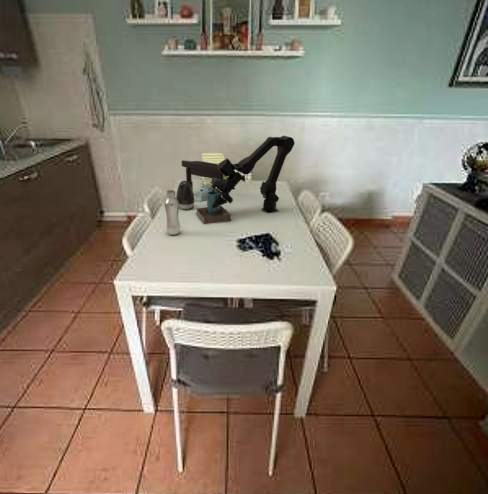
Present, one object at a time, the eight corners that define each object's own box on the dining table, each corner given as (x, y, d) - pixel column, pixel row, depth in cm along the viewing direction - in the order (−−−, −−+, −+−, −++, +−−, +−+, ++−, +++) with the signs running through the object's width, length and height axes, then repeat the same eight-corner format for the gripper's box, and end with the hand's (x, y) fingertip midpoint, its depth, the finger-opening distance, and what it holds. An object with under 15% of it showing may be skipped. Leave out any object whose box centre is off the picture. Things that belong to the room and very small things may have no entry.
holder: (221, 211, 177) (221, 205, 176) (231, 220, 165) (231, 214, 164) (196, 214, 173) (195, 208, 171) (203, 224, 161) (203, 218, 159)
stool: (220, 169, 172) (172, 161, 188) (220, 207, 182) (174, 196, 198) (235, 164, 184) (189, 156, 199) (234, 199, 194) (190, 190, 209)
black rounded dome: (172, 209, 178) (170, 182, 171) (182, 203, 187) (180, 177, 179) (189, 212, 175) (188, 184, 168) (198, 206, 183) (197, 179, 176)
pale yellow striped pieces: (229, 190, 210) (230, 162, 201) (205, 191, 208) (204, 163, 199) (224, 178, 236) (224, 153, 227) (202, 178, 234) (201, 153, 225)
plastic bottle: (183, 231, 153) (181, 190, 143) (176, 237, 147) (173, 194, 137) (171, 229, 154) (167, 188, 145) (164, 235, 149) (160, 192, 139)
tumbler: (215, 214, 173) (215, 190, 166) (221, 218, 168) (221, 193, 162) (205, 216, 170) (204, 192, 163) (211, 220, 165) (210, 195, 159)
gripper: (214, 167, 167) (194, 190, 168) (227, 176, 151) (205, 201, 153) (228, 181, 173) (209, 203, 175) (242, 191, 158) (220, 215, 160)
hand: (210, 205), depth 165 cm, fingers closed on tumbler, 6 cm apart
